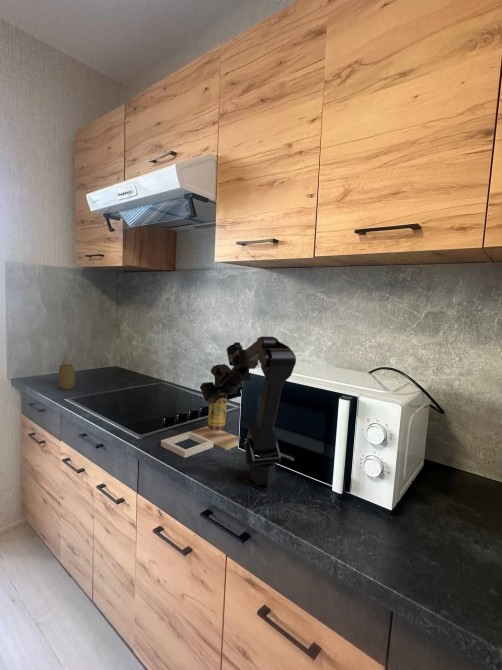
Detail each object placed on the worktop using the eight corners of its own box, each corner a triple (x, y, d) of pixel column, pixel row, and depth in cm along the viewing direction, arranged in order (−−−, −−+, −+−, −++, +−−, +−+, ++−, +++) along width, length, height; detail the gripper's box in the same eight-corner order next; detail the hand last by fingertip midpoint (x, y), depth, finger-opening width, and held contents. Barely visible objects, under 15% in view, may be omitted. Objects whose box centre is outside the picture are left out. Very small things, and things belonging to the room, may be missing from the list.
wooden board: (247, 441, 128) (247, 440, 128) (225, 450, 120) (226, 448, 120) (208, 427, 141) (208, 425, 141) (187, 433, 133) (187, 432, 133)
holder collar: (213, 447, 122) (213, 441, 122) (184, 457, 113) (184, 451, 112) (189, 436, 130) (189, 431, 130) (160, 446, 120) (161, 440, 120)
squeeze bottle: (76, 386, 191) (76, 353, 189) (73, 390, 183) (74, 355, 182) (59, 386, 188) (59, 352, 187) (56, 390, 181) (56, 355, 179)
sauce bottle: (209, 431, 126) (211, 376, 124) (206, 425, 132) (208, 372, 130) (227, 431, 128) (229, 376, 126) (223, 425, 134) (226, 372, 132)
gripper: (247, 356, 131) (227, 380, 140) (204, 359, 119) (186, 385, 128) (260, 382, 125) (239, 405, 135) (216, 387, 113) (196, 412, 123)
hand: (215, 401), depth 130 cm, fingers closed on sauce bottle, 6 cm apart
